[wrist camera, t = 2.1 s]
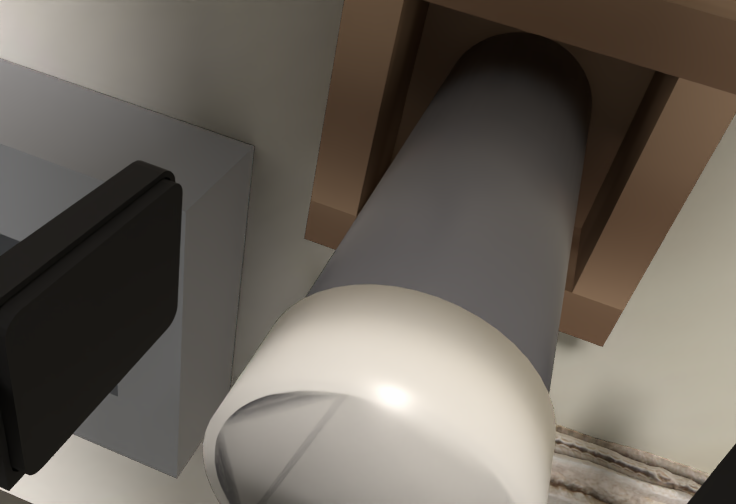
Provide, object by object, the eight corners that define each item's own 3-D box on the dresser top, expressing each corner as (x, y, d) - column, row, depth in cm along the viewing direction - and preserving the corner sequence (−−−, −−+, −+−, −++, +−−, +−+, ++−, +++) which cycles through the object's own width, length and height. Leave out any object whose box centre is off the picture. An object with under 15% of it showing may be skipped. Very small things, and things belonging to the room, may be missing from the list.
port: (-27, 49, 22) (-149, 98, 19) (254, 146, 21) (177, 219, 18) (17, 315, 30) (-65, 386, 26) (228, 400, 28) (171, 487, 25)
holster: (408, -112, 16) (358, -88, 13) (755, -15, 15) (780, 33, 12) (349, 176, 20) (304, 238, 18) (608, 265, 19) (602, 346, 17)
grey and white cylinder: (461, 4, 16) (210, 325, 7) (625, 54, 16) (601, 476, 6) (422, 148, 19) (196, 533, 9) (563, 196, 18) (478, 657, 9)
